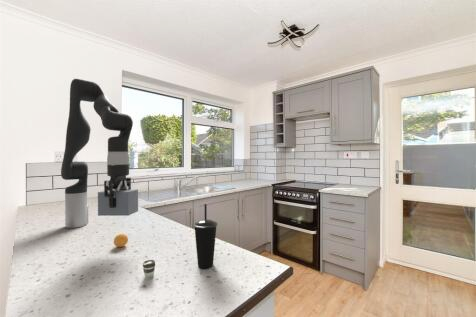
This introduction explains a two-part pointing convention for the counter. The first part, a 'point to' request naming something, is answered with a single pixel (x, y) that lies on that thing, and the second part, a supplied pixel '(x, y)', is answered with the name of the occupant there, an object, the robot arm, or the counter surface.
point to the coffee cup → (149, 268)
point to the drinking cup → (205, 241)
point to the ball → (120, 240)
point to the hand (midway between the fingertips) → (118, 205)
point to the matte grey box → (118, 203)
